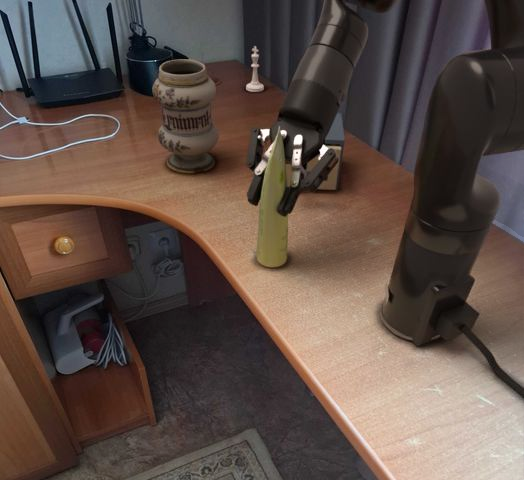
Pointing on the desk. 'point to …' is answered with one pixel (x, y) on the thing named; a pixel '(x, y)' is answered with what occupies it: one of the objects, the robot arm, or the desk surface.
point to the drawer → (329, 180)
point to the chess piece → (255, 74)
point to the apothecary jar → (186, 115)
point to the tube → (273, 210)
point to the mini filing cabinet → (337, 139)
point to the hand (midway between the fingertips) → (266, 208)
